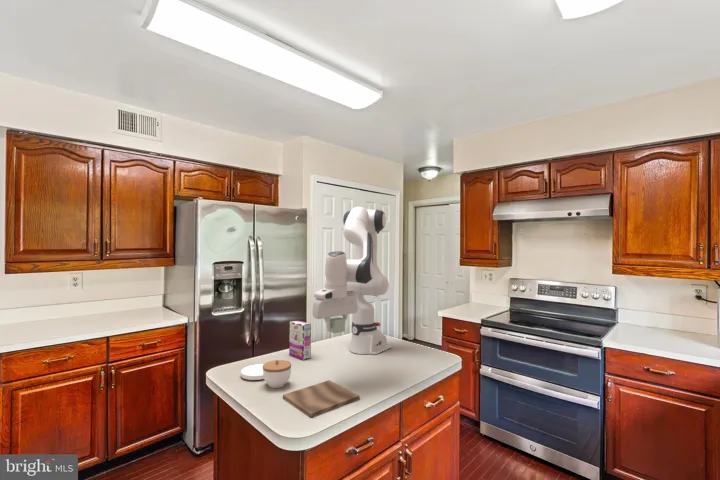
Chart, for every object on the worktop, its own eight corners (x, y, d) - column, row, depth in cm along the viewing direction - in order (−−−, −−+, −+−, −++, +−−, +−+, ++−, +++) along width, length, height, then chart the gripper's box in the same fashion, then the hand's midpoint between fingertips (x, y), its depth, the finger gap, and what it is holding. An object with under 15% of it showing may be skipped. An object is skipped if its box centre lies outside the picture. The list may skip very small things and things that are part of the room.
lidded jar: (288, 377, 141) (289, 354, 141) (293, 388, 131) (293, 363, 131) (261, 381, 137) (261, 357, 137) (263, 392, 127) (263, 366, 127)
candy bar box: (311, 358, 165) (311, 323, 165) (303, 360, 161) (303, 325, 161) (297, 353, 173) (297, 319, 173) (288, 355, 169) (288, 321, 169)
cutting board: (329, 383, 135) (329, 380, 135) (359, 399, 122) (359, 395, 122) (282, 398, 122) (282, 394, 122) (310, 417, 108) (310, 413, 108)
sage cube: (337, 329, 142) (337, 316, 142) (344, 331, 138) (344, 318, 138) (327, 330, 139) (327, 318, 139) (334, 333, 135) (334, 320, 135)
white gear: (256, 385, 134) (256, 378, 134) (233, 377, 141) (233, 371, 142) (283, 373, 146) (283, 367, 146) (260, 367, 153) (260, 361, 153)
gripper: (351, 289, 148) (351, 321, 148) (310, 293, 135) (310, 329, 135) (361, 290, 143) (360, 324, 143) (319, 295, 130) (319, 332, 130)
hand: (336, 327), depth 139 cm, fingers closed on sage cube, 5 cm apart
